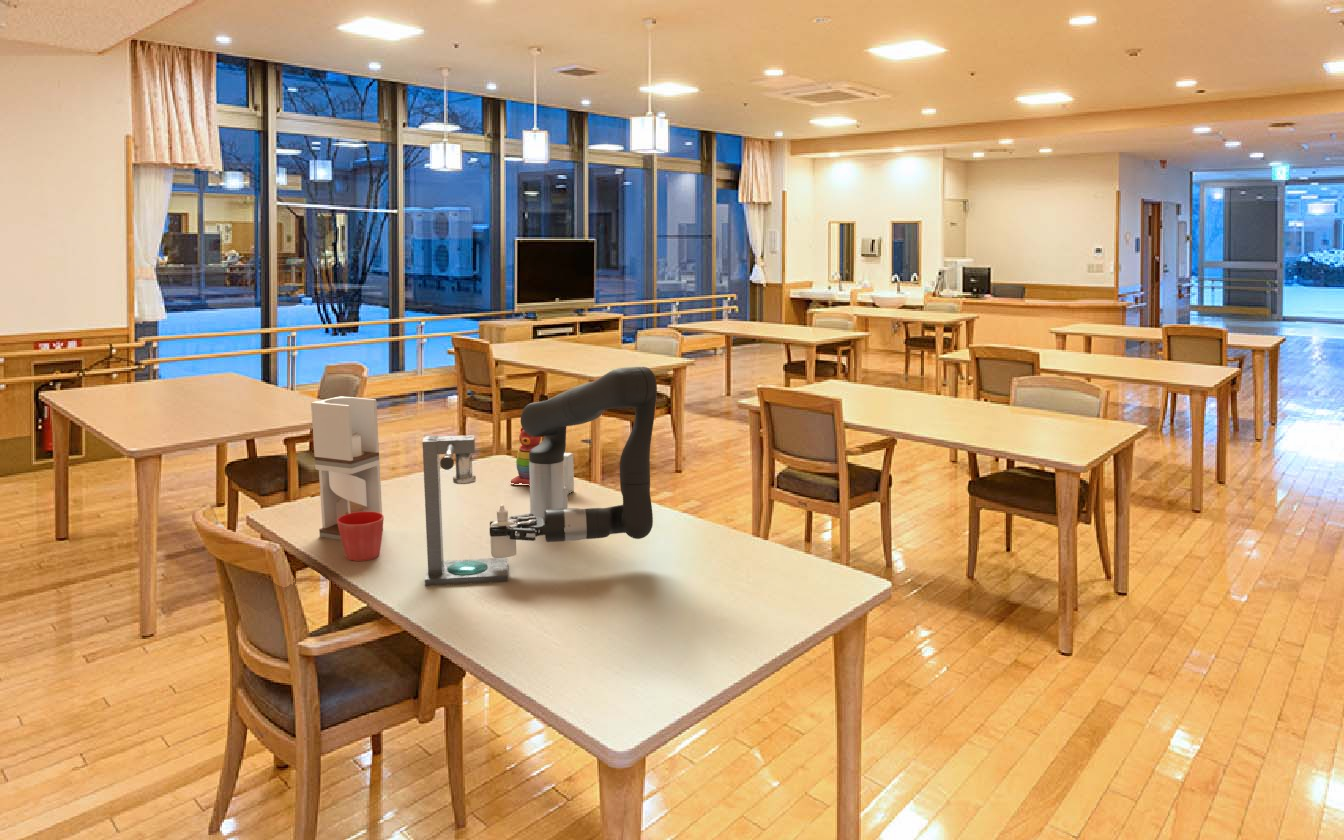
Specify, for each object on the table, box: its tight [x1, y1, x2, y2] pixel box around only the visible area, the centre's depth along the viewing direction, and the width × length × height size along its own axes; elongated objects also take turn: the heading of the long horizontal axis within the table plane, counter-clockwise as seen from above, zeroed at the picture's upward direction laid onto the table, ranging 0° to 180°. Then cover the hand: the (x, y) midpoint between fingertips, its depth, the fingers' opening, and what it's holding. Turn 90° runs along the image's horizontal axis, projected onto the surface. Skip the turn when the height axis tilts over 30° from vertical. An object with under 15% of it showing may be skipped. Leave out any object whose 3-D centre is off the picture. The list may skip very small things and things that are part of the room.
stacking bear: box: [510, 427, 542, 485], centre depth 295 cm, size 11×10×18 cm
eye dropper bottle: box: [489, 504, 517, 558], centre depth 215 cm, size 4×6×12 cm
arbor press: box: [421, 434, 509, 587], centre depth 207 cm, size 18×25×32 cm
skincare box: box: [564, 452, 575, 495], centre depth 285 cm, size 6×4×12 cm
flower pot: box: [337, 511, 385, 562], centre depth 227 cm, size 11×11×10 cm
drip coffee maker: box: [310, 395, 384, 541], centre depth 241 cm, size 11×11×35 cm
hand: (490, 528), depth 215 cm, fingers closed on eye dropper bottle, 3 cm apart
